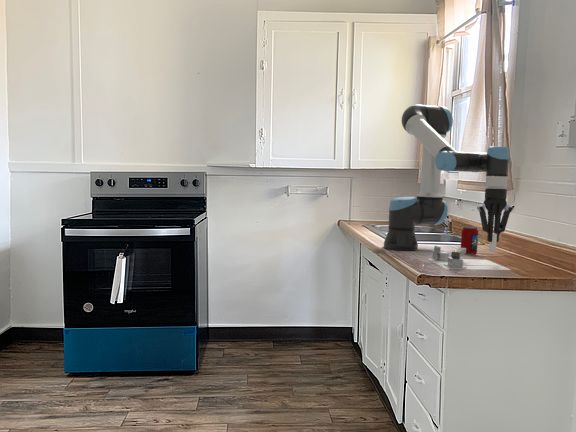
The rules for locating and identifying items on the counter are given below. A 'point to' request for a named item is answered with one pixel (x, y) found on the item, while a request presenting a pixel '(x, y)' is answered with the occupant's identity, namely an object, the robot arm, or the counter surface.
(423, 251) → the counter surface
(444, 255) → the keeper
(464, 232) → the beverage can
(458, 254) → the latch bar
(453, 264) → the grey latch pivot mount
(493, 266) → the door board
